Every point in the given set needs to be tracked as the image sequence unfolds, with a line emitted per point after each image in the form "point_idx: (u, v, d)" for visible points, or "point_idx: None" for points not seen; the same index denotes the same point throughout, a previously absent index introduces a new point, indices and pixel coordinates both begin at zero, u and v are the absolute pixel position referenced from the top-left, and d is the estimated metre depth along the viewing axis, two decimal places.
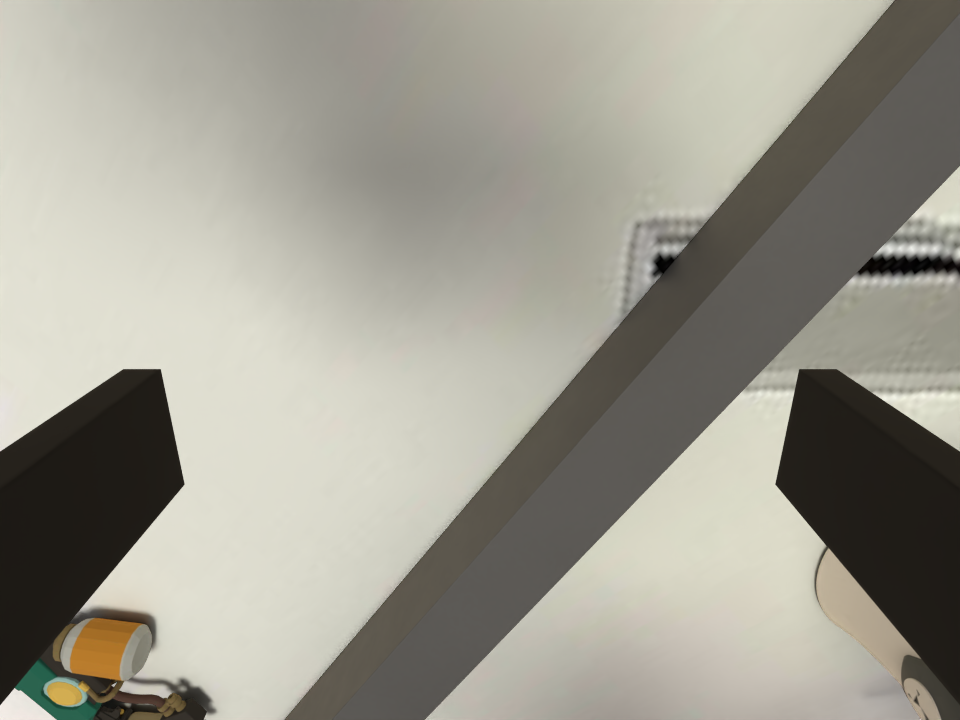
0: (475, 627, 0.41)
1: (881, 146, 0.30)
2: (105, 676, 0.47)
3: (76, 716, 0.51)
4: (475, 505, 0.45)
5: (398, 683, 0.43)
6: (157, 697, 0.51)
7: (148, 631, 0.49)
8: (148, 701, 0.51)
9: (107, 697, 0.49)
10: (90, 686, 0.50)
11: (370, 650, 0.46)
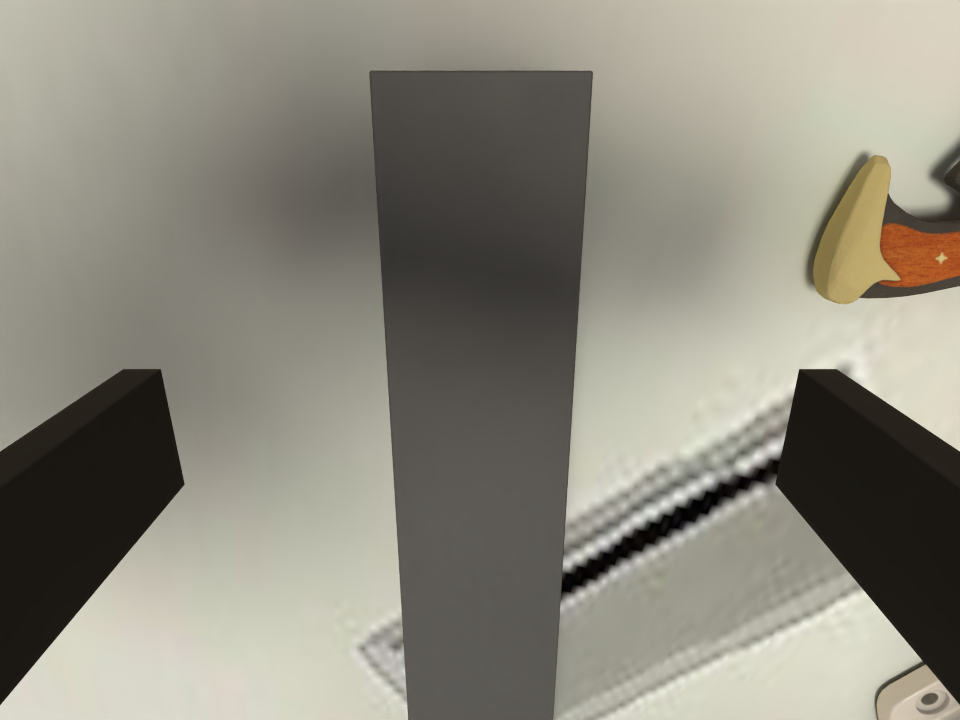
0: None
1: (448, 607, 0.21)
2: None
3: None
4: None
5: None
6: None
7: None
8: None
9: None
10: None
11: None
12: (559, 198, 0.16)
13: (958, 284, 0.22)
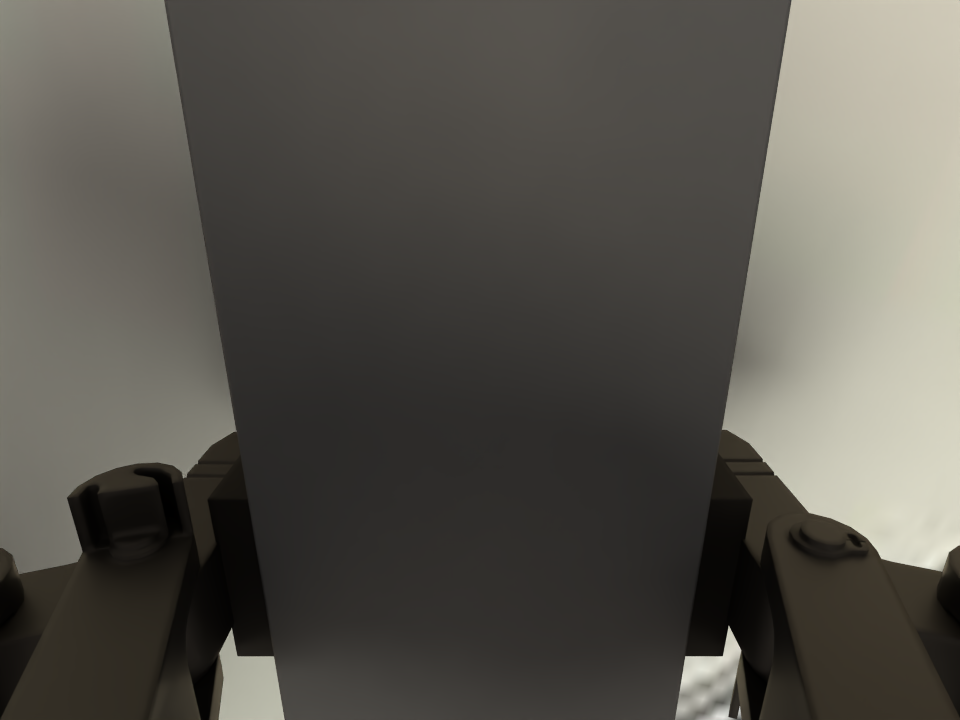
0: None
1: None
2: None
3: None
4: None
5: None
6: None
7: None
8: None
9: None
10: None
11: None
12: (678, 304, 0.06)
13: None
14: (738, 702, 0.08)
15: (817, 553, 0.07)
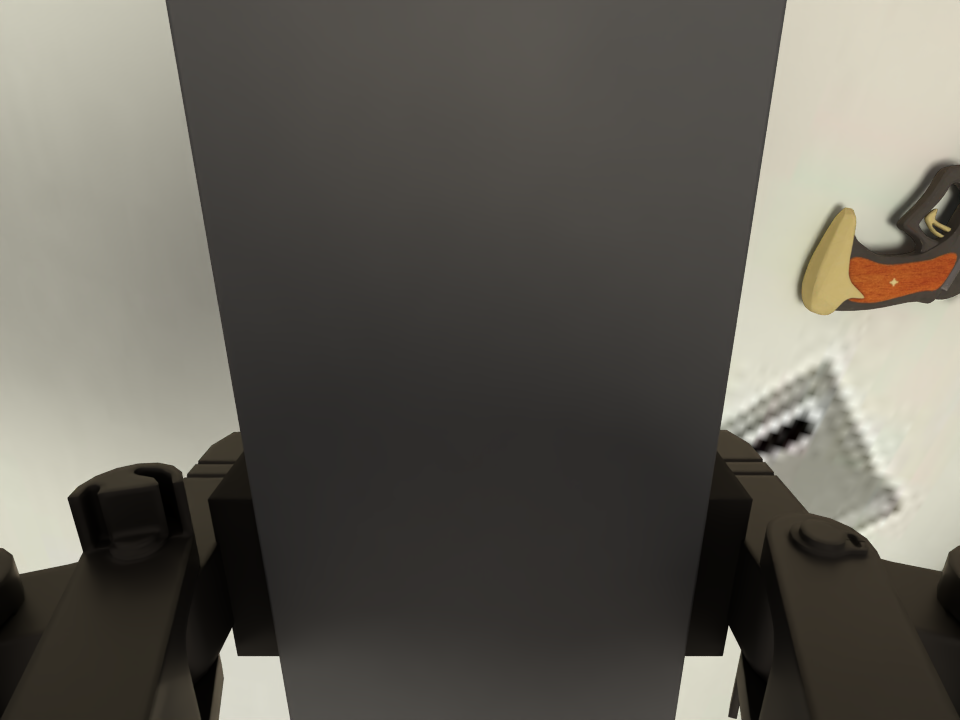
0: None
1: None
2: None
3: None
4: None
5: None
6: None
7: None
8: None
9: None
10: None
11: None
12: (675, 303, 0.06)
13: (907, 301, 0.30)
14: (738, 702, 0.08)
15: (817, 553, 0.07)
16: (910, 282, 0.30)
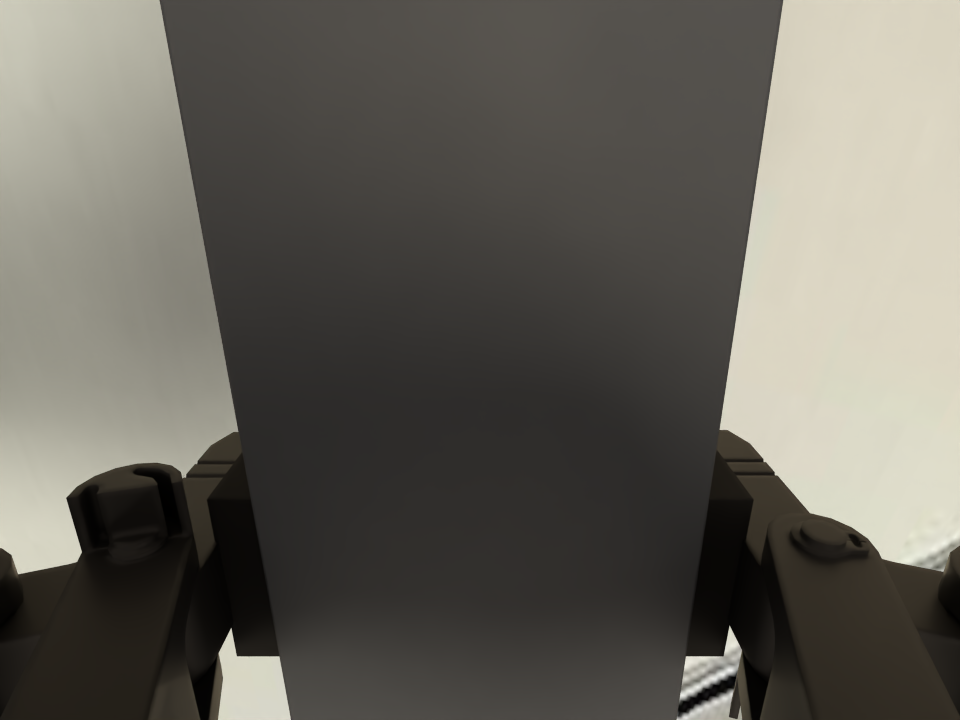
0: None
1: None
2: None
3: None
4: None
5: None
6: None
7: None
8: None
9: None
10: None
11: None
12: (675, 303, 0.06)
13: None
14: (739, 702, 0.08)
15: (818, 553, 0.07)
16: None
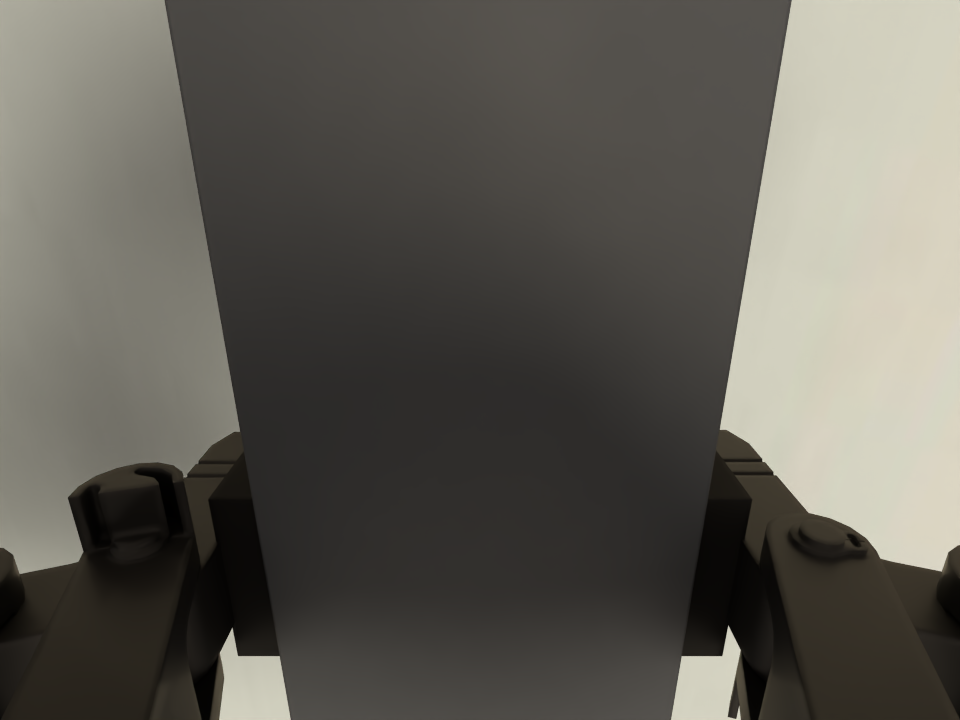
0: None
1: None
2: None
3: None
4: None
5: None
6: None
7: None
8: None
9: None
10: None
11: None
12: (677, 305, 0.06)
13: None
14: (737, 702, 0.08)
15: (816, 553, 0.07)
16: None
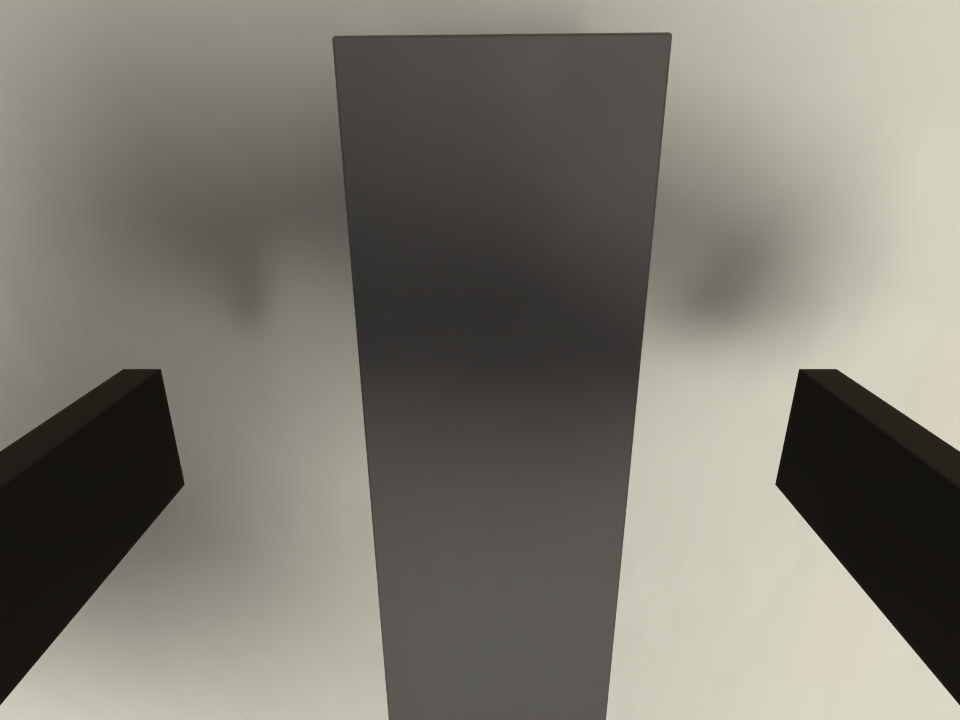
0: None
1: None
2: None
3: None
4: None
5: None
6: None
7: None
8: None
9: None
10: None
11: None
12: (616, 225, 0.11)
13: None
14: None
15: None
16: None
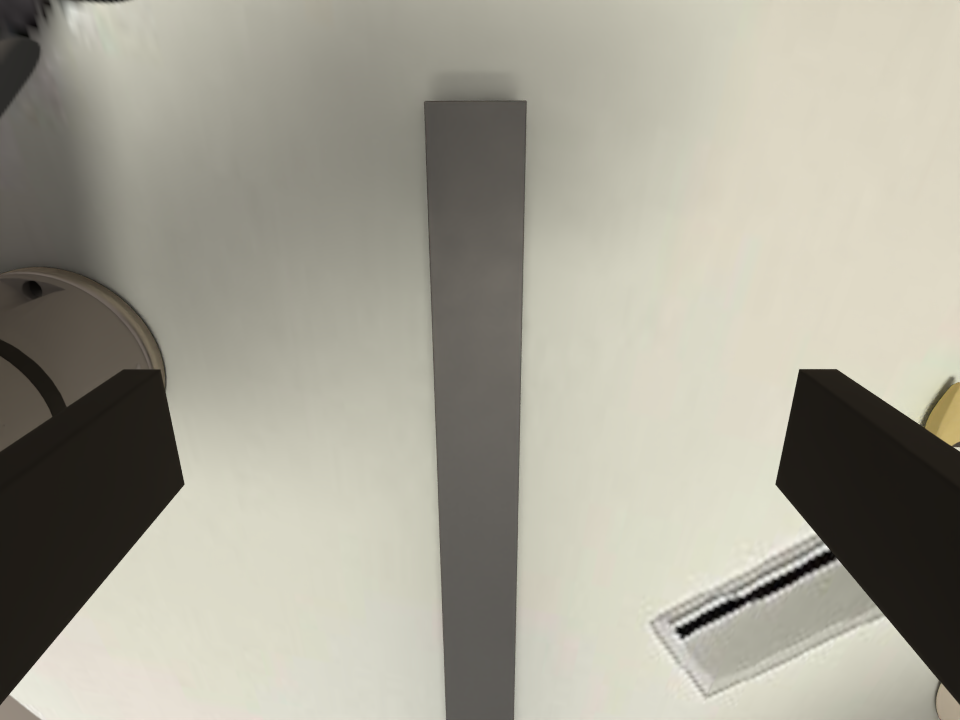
0: None
1: (459, 387, 0.39)
2: None
3: None
4: None
5: None
6: None
7: None
8: None
9: None
10: None
11: None
12: (513, 160, 0.34)
13: None
14: None
15: None
16: None
